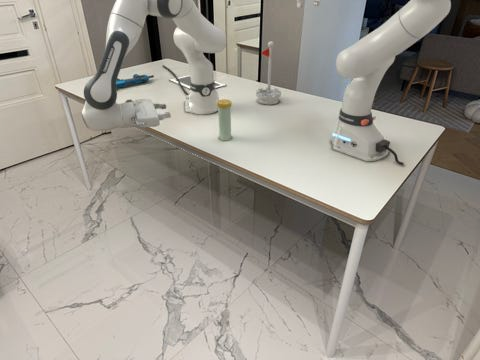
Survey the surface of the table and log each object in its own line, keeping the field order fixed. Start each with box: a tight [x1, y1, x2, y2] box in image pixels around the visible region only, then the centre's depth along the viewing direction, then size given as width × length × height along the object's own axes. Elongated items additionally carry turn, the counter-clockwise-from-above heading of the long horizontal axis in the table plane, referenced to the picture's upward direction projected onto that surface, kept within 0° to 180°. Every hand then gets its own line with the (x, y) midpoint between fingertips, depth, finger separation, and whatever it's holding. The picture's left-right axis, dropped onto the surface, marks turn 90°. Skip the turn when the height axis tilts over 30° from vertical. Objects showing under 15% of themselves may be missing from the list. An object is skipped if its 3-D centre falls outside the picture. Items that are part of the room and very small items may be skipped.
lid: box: [217, 98, 233, 109], centre depth 136 cm, size 6×6×2 cm
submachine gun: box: [116, 73, 155, 89], centre depth 208 cm, size 34×4×25 cm
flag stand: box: [255, 41, 282, 105], centre depth 173 cm, size 13×13×30 cm
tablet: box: [169, 74, 227, 90], centre depth 208 cm, size 32×20×1 cm, turn 41°
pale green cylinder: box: [217, 107, 232, 141], centre depth 140 cm, size 5×5×16 cm
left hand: (167, 110), depth 129 cm, fingers open, 8 cm apart
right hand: (308, 6), depth 134 cm, fingers open, 8 cm apart
